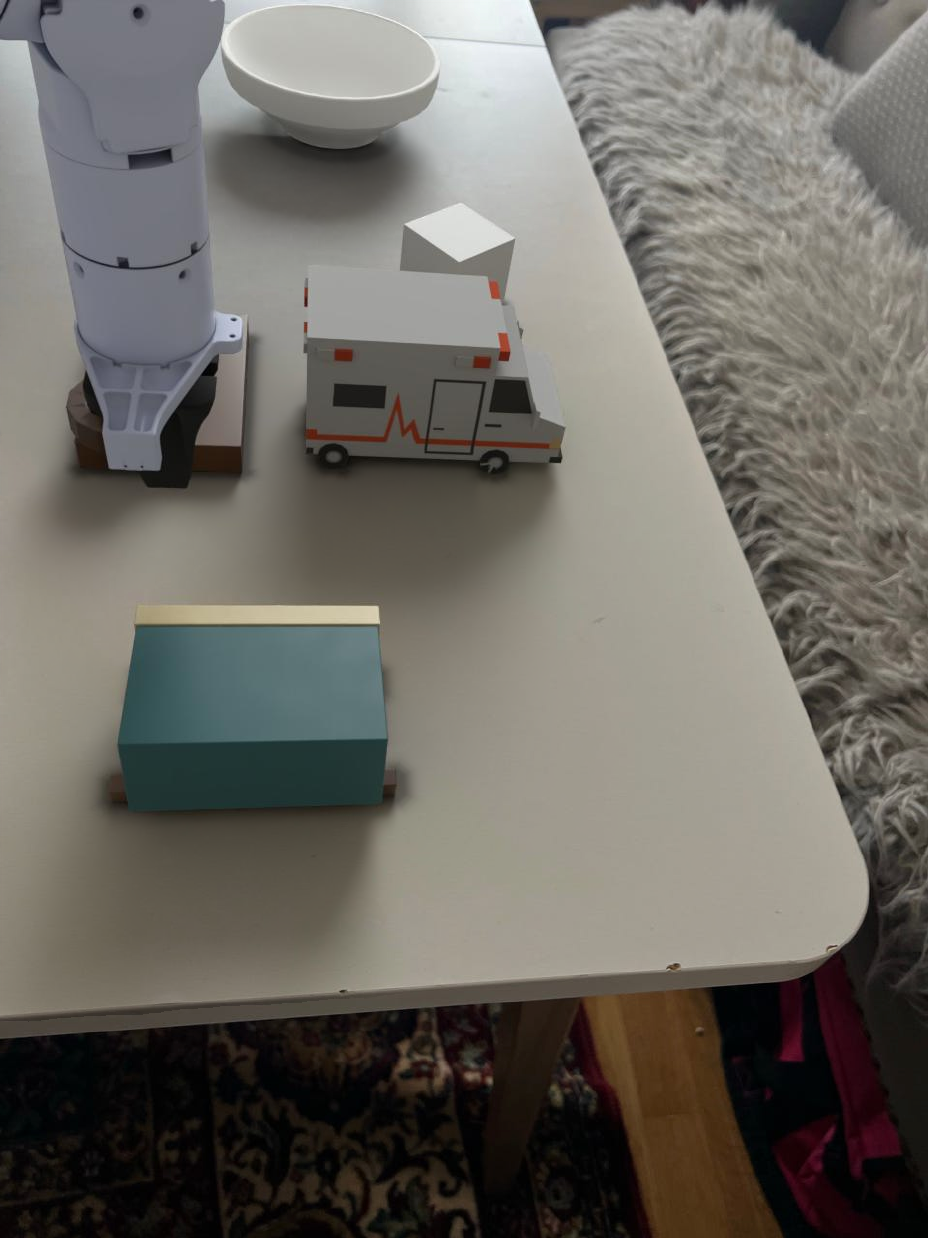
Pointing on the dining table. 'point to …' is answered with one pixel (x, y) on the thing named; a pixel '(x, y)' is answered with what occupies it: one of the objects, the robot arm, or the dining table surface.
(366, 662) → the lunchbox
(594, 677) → the dining table surface
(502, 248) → the white cube
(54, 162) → the robot arm
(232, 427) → the control box
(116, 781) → the strip
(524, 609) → the dining table surface
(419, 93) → the bowl
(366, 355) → the toy vehicle
